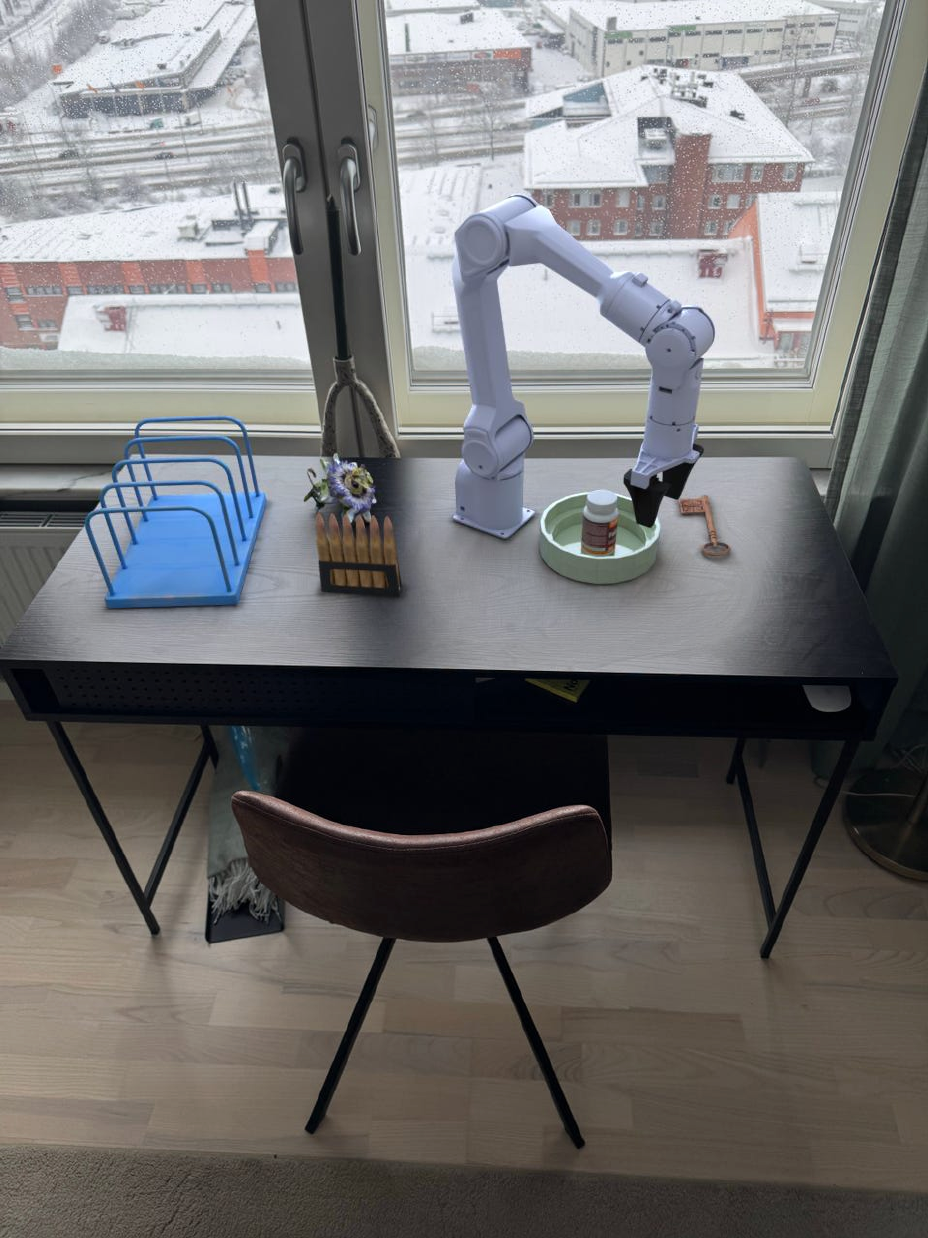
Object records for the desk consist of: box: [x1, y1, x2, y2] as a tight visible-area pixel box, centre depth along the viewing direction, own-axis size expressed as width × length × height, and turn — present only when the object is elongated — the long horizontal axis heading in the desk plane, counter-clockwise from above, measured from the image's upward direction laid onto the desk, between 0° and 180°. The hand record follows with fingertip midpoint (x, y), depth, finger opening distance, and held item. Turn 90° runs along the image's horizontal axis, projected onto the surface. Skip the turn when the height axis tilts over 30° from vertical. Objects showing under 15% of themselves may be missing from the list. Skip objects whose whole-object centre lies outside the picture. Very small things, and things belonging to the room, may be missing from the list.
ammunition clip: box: [315, 512, 403, 597], centre depth 121 cm, size 11×2×12 cm, turn 83°
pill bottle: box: [581, 489, 619, 557], centre depth 127 cm, size 5×5×8 cm
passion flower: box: [303, 453, 377, 526], centre depth 136 cm, size 11×11×12 cm
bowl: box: [538, 491, 662, 585], centre depth 129 cm, size 16×16×4 cm
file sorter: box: [84, 414, 268, 609], centre depth 127 cm, size 25×17×15 cm
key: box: [678, 494, 731, 558], centre depth 133 cm, size 6×1×15 cm
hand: (658, 510), depth 119 cm, fingers open, 7 cm apart
